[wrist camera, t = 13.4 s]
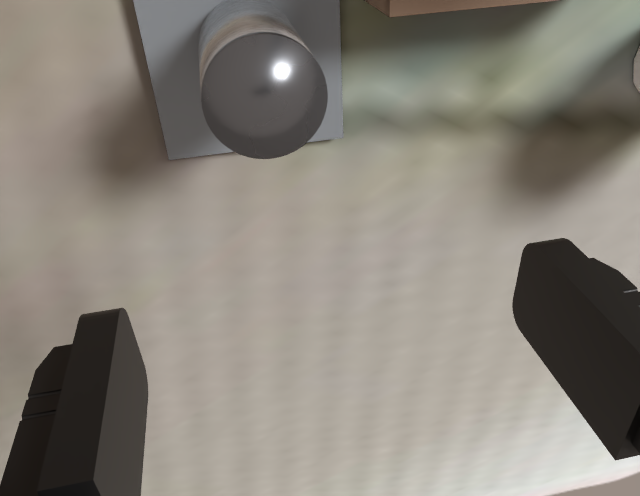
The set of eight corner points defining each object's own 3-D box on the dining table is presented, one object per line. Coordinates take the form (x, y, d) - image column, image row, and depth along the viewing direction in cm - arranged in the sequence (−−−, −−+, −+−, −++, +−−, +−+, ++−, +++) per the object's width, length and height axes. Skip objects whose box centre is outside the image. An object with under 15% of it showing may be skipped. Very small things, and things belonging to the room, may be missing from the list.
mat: (120, -68, 25) (118, -67, 24) (333, -84, 26) (337, -83, 26) (169, 154, 31) (168, 160, 30) (340, 132, 32) (343, 137, 32)
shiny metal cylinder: (190, -1, 26) (190, 40, 20) (292, -9, 27) (325, 28, 20) (206, 101, 29) (211, 165, 23) (299, 91, 30) (329, 151, 23)
